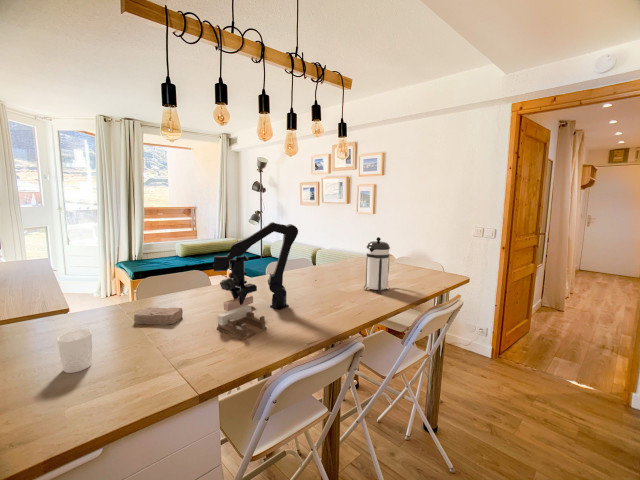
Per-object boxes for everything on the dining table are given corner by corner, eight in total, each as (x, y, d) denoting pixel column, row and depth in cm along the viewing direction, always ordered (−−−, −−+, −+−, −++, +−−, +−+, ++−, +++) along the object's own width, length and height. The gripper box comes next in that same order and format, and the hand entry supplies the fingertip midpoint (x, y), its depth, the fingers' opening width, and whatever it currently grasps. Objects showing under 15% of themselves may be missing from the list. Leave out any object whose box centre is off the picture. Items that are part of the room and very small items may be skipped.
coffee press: (394, 294, 164) (397, 239, 160) (365, 293, 165) (367, 238, 161) (387, 285, 182) (390, 235, 178) (361, 284, 182) (362, 234, 178)
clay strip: (248, 301, 145) (248, 294, 144) (253, 302, 143) (252, 295, 143) (223, 309, 134) (223, 302, 133) (228, 311, 132) (227, 303, 132)
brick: (133, 324, 121) (132, 313, 121) (145, 316, 130) (144, 306, 129) (173, 325, 121) (173, 314, 120) (183, 317, 129) (183, 307, 129)
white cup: (73, 360, 94) (70, 329, 93) (100, 359, 95) (97, 329, 93) (53, 375, 86) (49, 341, 85) (83, 374, 87) (79, 341, 86)
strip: (246, 312, 126) (246, 304, 126) (251, 314, 125) (251, 306, 124) (217, 323, 115) (217, 314, 115) (222, 325, 113) (222, 316, 113)
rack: (241, 319, 127) (241, 307, 127) (266, 328, 119) (266, 316, 118) (216, 329, 118) (216, 316, 117) (242, 340, 109) (241, 326, 108)
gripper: (209, 270, 135) (211, 304, 137) (236, 277, 124) (237, 313, 126) (230, 266, 144) (231, 297, 146) (257, 272, 133) (257, 306, 135)
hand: (238, 303), depth 138 cm, fingers closed on clay strip, 3 cm apart
